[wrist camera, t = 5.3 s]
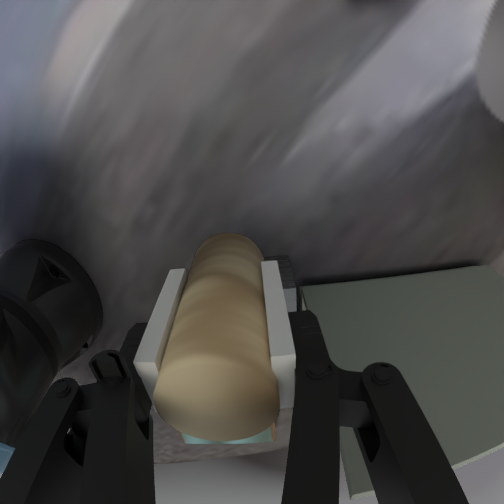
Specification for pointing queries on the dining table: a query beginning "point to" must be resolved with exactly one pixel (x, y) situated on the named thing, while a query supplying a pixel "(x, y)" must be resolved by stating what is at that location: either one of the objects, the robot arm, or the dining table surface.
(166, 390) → the beige rounded cylinder
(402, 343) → the case
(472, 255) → the dining table surface
